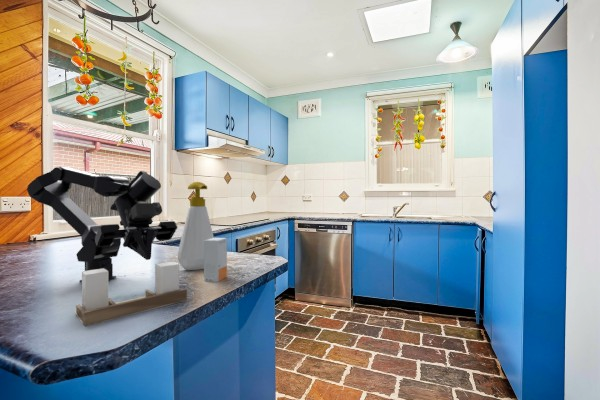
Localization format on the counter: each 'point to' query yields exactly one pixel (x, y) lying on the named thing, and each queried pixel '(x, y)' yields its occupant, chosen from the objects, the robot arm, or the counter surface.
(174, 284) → the white rectangular block
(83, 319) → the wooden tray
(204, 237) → the soap bottle
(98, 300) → the white tall block
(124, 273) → the counter surface
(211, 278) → the skincare box
